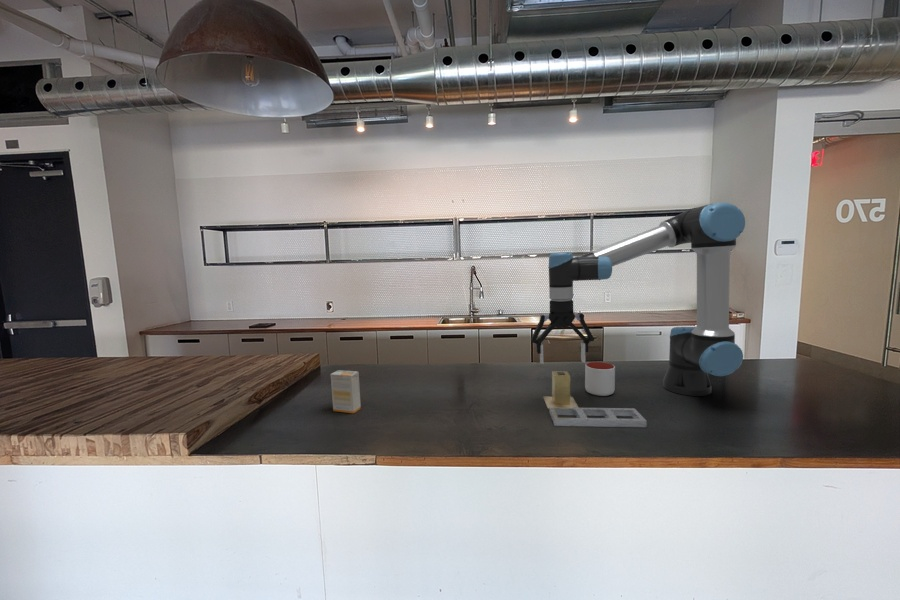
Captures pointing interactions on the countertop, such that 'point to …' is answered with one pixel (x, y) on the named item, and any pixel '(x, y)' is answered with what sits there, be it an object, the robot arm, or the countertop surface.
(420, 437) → the countertop surface
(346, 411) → the supplement box
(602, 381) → the cup
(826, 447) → the countertop surface
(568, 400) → the tall beige post
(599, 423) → the grey slotted tray
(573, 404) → the coaster
